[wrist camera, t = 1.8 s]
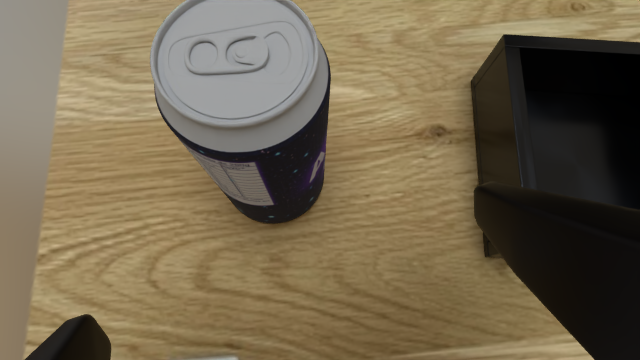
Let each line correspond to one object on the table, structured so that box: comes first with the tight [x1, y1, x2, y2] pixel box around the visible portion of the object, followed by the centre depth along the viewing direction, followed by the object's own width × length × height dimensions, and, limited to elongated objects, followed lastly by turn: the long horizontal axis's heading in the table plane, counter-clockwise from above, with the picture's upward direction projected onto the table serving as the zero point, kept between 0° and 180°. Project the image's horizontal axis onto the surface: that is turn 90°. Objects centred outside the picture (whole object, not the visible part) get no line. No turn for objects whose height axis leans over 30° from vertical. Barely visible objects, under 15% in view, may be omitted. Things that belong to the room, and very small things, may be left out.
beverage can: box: [150, 0, 331, 223], centre depth 16 cm, size 6×6×12 cm
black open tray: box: [471, 34, 640, 258], centre depth 20 cm, size 12×12×4 cm
